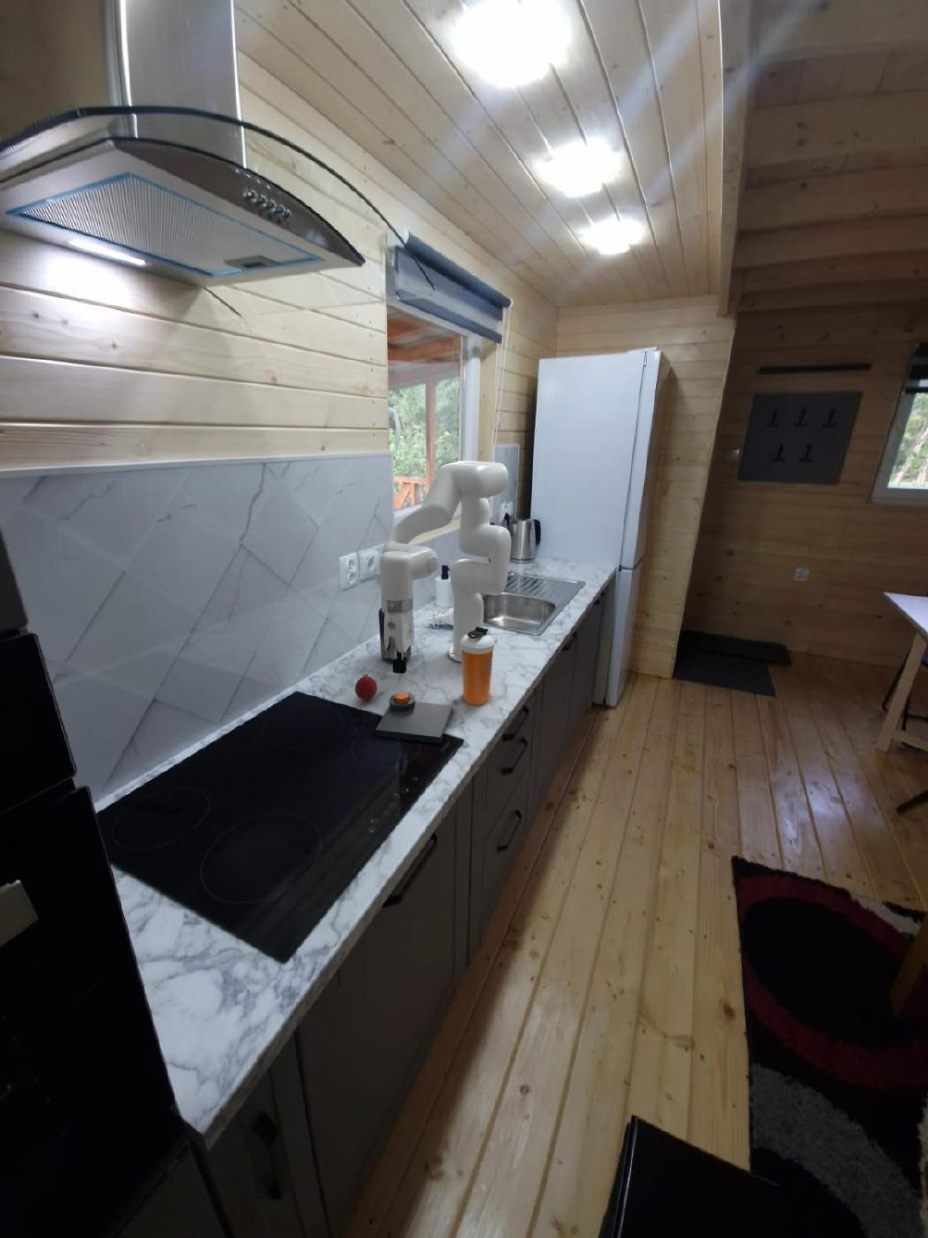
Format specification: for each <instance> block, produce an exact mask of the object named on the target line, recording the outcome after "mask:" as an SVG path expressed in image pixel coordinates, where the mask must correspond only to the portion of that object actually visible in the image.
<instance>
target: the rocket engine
mask: <svg viewBox="0 0 928 1238" xmlns="http://www.w3.org/2000/svg"><path fill="white" fill-rule="evenodd" d="M426 620H427V622H430V624H431V625H432V627H433V628H434V629H439V627H440V624H446V625H449V626H452V627H453V607H451V608H449V609H448V610H446V611H445V612H444V613H443V614H442V613H441V612H438V613H437V612H436V611H432V616H429V617H427V618H426ZM436 625H437V627H436Z"/></svg>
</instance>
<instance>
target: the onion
mask: <svg viewBox="0 0 928 1238" xmlns="http://www.w3.org/2000/svg"><path fill="white" fill-rule="evenodd" d="M377 691H378V685H377V681H376V680H374V679H373V678H372V677H370V676H369V674H368V673H363V675H362V677H360V678H359V679H358V680H357V681H356V683H355V686H354V692H355V695H356V696H357V697H358V698H359V699H360V700H363V701H366V702H367V701H369V700H371V699H373V698H374V696H375V695H376V694H377Z"/></svg>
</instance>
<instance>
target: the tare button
mask: <svg viewBox="0 0 928 1238" xmlns="http://www.w3.org/2000/svg"><path fill="white" fill-rule="evenodd" d="M408 693H409V692H406V691H399V692H396V693H394V695H395V702H396V703H401V704H402V703H407V702H408V701H409V694H410V693H409V694H408Z"/></svg>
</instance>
